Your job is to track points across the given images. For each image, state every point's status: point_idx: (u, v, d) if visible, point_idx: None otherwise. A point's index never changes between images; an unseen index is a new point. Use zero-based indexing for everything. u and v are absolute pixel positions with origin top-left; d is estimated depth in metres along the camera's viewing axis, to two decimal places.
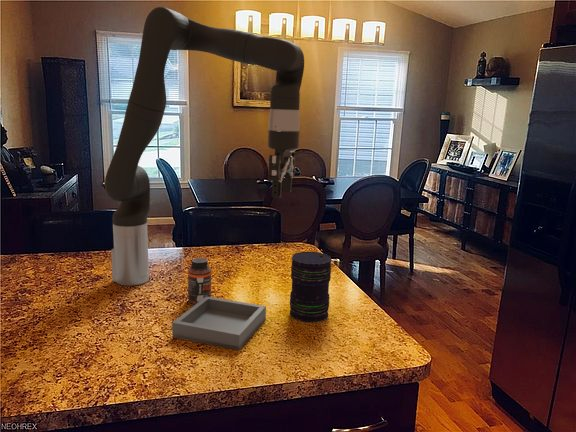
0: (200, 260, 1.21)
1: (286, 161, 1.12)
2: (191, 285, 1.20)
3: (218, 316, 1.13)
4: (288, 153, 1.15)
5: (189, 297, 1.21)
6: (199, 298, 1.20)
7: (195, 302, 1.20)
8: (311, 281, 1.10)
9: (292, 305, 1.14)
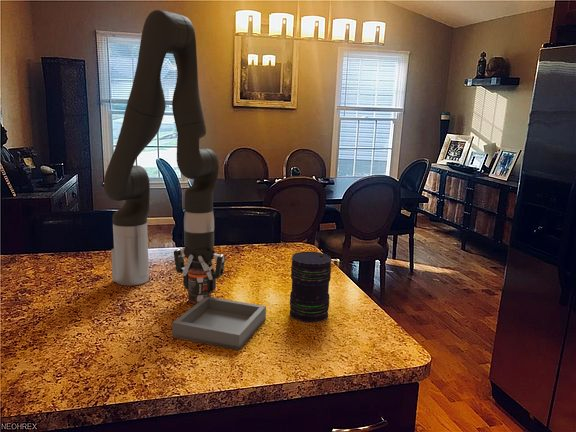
0: None
1: None
2: (190, 285, 1.20)
3: (218, 316, 1.13)
4: None
5: (189, 297, 1.21)
6: (199, 298, 1.20)
7: (195, 302, 1.20)
8: (311, 281, 1.10)
9: (292, 305, 1.14)
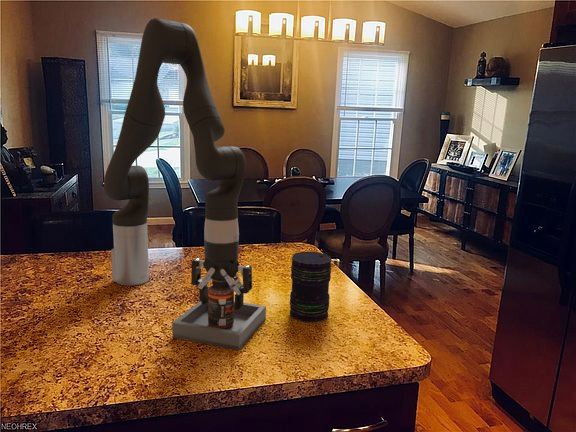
0: None
1: None
2: (211, 307, 1.05)
3: None
4: None
5: (209, 320, 1.06)
6: (221, 321, 1.05)
7: (216, 326, 1.05)
8: (311, 281, 1.10)
9: (292, 305, 1.14)
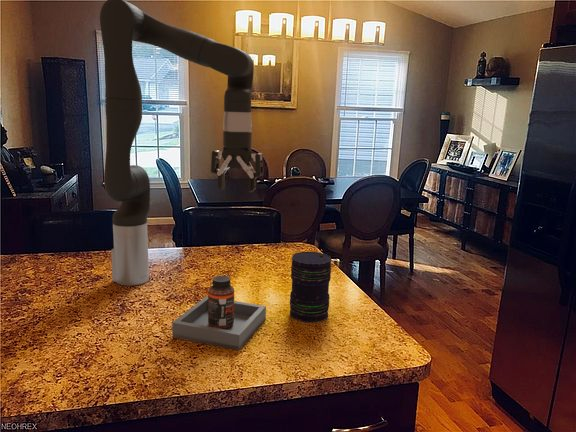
0: (222, 278, 1.06)
1: None
2: (211, 307, 1.05)
3: None
4: None
5: (209, 321, 1.06)
6: (221, 321, 1.05)
7: (217, 326, 1.05)
8: (311, 281, 1.10)
9: (292, 305, 1.14)
